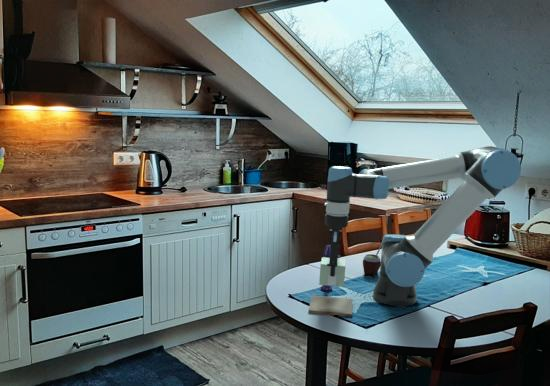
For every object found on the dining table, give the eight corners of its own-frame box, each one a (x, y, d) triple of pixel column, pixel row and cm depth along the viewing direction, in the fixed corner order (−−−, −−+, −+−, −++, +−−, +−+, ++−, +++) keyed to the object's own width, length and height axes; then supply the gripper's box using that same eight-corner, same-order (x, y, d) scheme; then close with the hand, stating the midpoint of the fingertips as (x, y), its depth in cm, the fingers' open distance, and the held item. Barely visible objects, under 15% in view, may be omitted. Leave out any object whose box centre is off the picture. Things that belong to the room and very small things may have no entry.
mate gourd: (358, 273, 221) (361, 237, 219) (376, 271, 224) (379, 236, 221) (367, 278, 214) (370, 241, 212) (385, 277, 217) (388, 241, 214)
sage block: (344, 279, 185) (345, 259, 183) (343, 287, 177) (345, 266, 176) (320, 277, 186) (321, 257, 184) (319, 284, 178) (320, 264, 177)
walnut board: (351, 301, 189) (352, 298, 188) (352, 317, 175) (352, 314, 175) (311, 297, 190) (311, 295, 190) (308, 313, 177) (308, 310, 177)
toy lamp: (325, 286, 203) (328, 243, 200) (336, 289, 200) (339, 245, 197) (318, 289, 199) (320, 245, 196) (328, 292, 196) (331, 248, 194)
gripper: (326, 207, 188) (322, 270, 192) (323, 219, 168) (319, 290, 171) (348, 208, 187) (343, 272, 191) (348, 221, 167) (343, 292, 171)
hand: (332, 280), depth 181 cm, fingers closed on sage block, 8 cm apart
